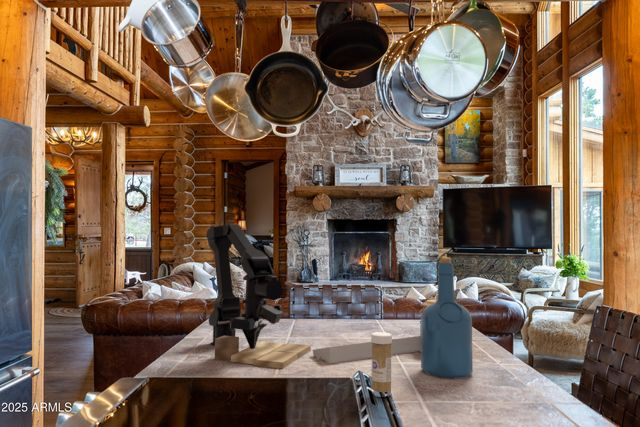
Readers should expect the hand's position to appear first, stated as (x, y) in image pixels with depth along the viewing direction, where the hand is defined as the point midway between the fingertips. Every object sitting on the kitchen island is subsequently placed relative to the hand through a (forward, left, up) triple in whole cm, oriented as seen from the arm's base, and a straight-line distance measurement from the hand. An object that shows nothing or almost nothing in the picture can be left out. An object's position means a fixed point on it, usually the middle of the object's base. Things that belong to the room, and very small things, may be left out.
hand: (252, 348), depth 137 cm
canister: (+53, +27, -2) cm, 60 cm away
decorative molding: (+33, +14, -2) cm, 36 cm away
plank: (+2, 0, -2) cm, 3 cm away
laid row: (+11, 0, -2) cm, 11 cm away
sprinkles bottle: (+44, -23, -2) cm, 49 cm away
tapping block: (-5, -7, -2) cm, 9 cm away
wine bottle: (+56, 0, -2) cm, 56 cm away
